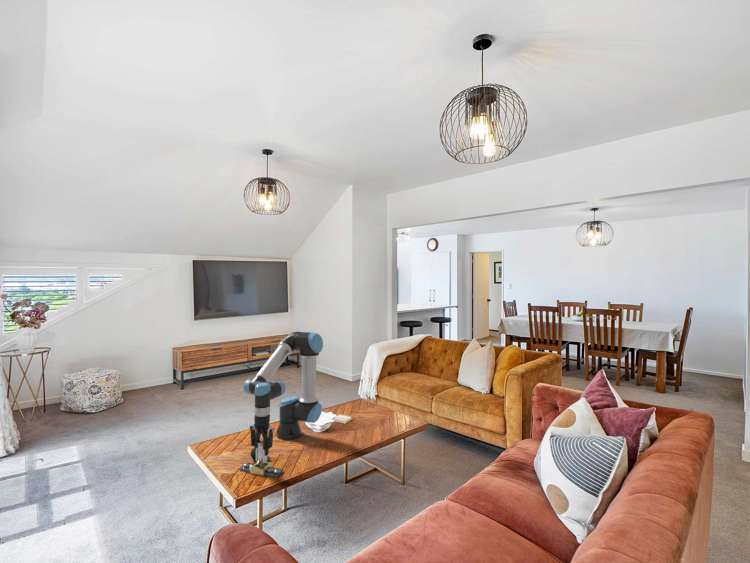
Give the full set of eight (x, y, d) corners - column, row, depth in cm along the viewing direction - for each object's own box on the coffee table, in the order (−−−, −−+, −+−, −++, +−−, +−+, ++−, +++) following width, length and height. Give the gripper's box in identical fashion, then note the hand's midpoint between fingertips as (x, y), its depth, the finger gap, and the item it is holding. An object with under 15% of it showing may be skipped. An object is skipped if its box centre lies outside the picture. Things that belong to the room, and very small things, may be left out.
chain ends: (248, 463, 203) (248, 458, 203) (284, 471, 196) (284, 465, 196) (238, 470, 196) (238, 464, 196) (275, 478, 189) (275, 472, 189)
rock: (273, 456, 212) (273, 445, 213) (264, 463, 204) (264, 452, 204) (257, 453, 216) (257, 443, 216) (247, 461, 207) (247, 450, 207)
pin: (260, 462, 199) (260, 439, 199) (267, 464, 197) (267, 440, 197) (255, 466, 195) (255, 442, 195) (262, 468, 193) (262, 444, 193)
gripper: (243, 414, 195) (242, 461, 195) (272, 419, 190) (271, 466, 190) (252, 410, 202) (252, 454, 202) (280, 414, 197) (279, 460, 197)
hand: (261, 460), depth 196 cm, fingers closed on pin, 4 cm apart
